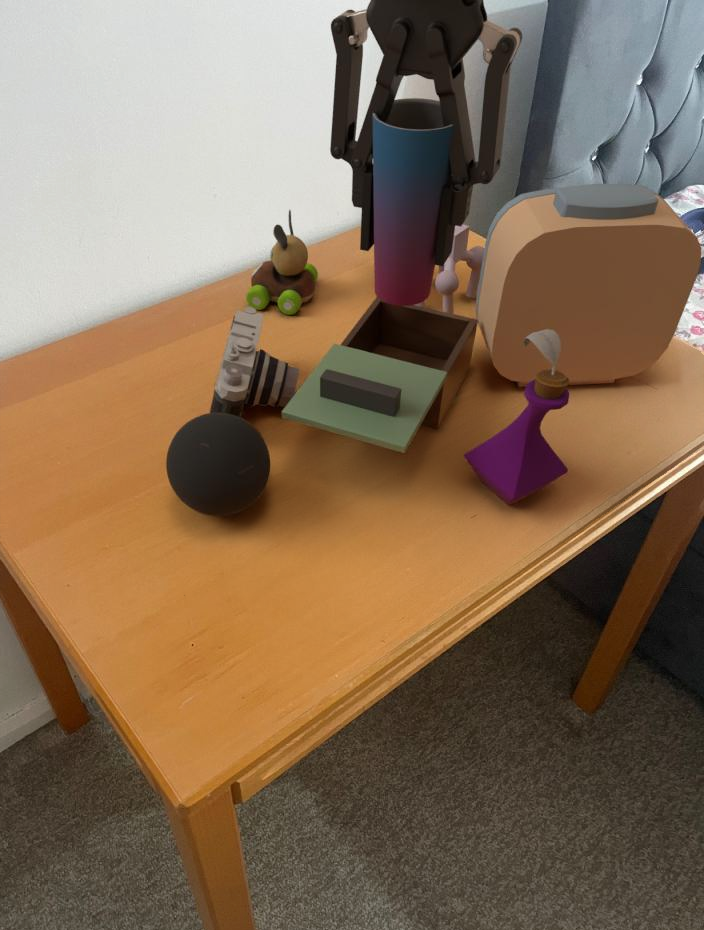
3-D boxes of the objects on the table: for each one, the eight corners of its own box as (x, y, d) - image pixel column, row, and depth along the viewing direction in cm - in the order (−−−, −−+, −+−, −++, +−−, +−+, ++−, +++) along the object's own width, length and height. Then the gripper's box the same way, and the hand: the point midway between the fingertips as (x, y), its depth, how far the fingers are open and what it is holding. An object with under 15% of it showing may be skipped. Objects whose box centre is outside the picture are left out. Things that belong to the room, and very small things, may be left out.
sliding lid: (446, 378, 79) (450, 352, 77) (404, 453, 71) (407, 427, 69) (333, 349, 83) (334, 324, 81) (281, 417, 75) (280, 392, 73)
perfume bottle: (562, 493, 77) (610, 344, 64) (506, 522, 74) (545, 372, 61) (512, 452, 82) (548, 305, 69) (458, 478, 79) (485, 329, 66)
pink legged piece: (329, 278, 107) (329, 182, 97) (376, 251, 113) (381, 157, 103) (443, 330, 98) (457, 230, 88) (489, 298, 103) (507, 200, 94)
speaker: (190, 462, 81) (177, 386, 73) (281, 472, 79) (277, 397, 72) (161, 530, 74) (143, 454, 67) (260, 543, 73) (253, 467, 65)
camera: (278, 463, 83) (301, 393, 76) (201, 443, 81) (217, 371, 74) (291, 377, 94) (312, 309, 87) (223, 359, 92) (239, 289, 85)
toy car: (264, 275, 108) (259, 198, 100) (323, 284, 106) (323, 206, 98) (241, 308, 102) (234, 229, 94) (304, 318, 100) (302, 238, 92)
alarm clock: (626, 341, 96) (685, 168, 81) (653, 386, 90) (723, 208, 74) (466, 347, 95) (495, 173, 80) (482, 393, 89) (517, 214, 73)
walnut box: (469, 367, 92) (478, 319, 87) (437, 428, 84) (444, 379, 79) (374, 344, 96) (376, 296, 91) (334, 400, 88) (335, 351, 83)
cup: (358, 306, 66) (365, 126, 55) (371, 268, 71) (380, 95, 60) (435, 315, 65) (457, 133, 54) (444, 276, 70) (466, 101, 59)
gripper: (594, -86, 48) (524, 252, 65) (322, -105, 54) (322, 213, 70) (572, -65, 44) (502, 294, 60) (276, -87, 49) (288, 249, 66)
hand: (405, 250), depth 65 cm, fingers closed on cup, 6 cm apart
